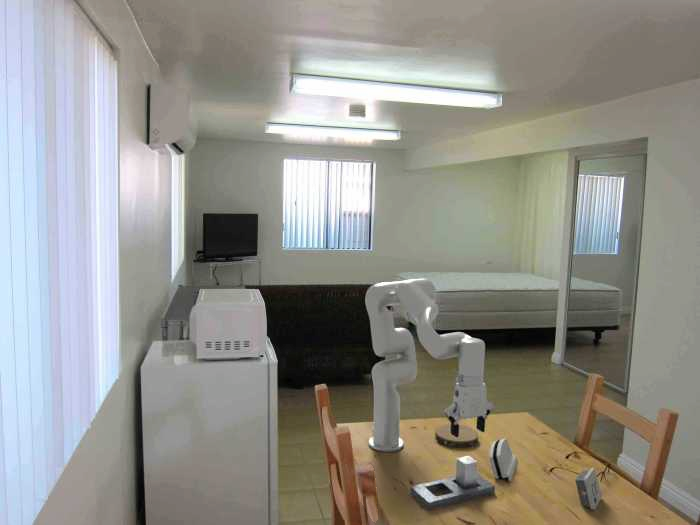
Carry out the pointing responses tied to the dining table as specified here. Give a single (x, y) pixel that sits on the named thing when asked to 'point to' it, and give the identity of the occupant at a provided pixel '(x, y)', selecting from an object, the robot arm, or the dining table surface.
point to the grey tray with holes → (449, 492)
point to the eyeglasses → (591, 456)
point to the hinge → (502, 459)
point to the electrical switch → (588, 488)
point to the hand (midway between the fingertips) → (467, 433)
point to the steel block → (466, 472)
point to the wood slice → (464, 440)
